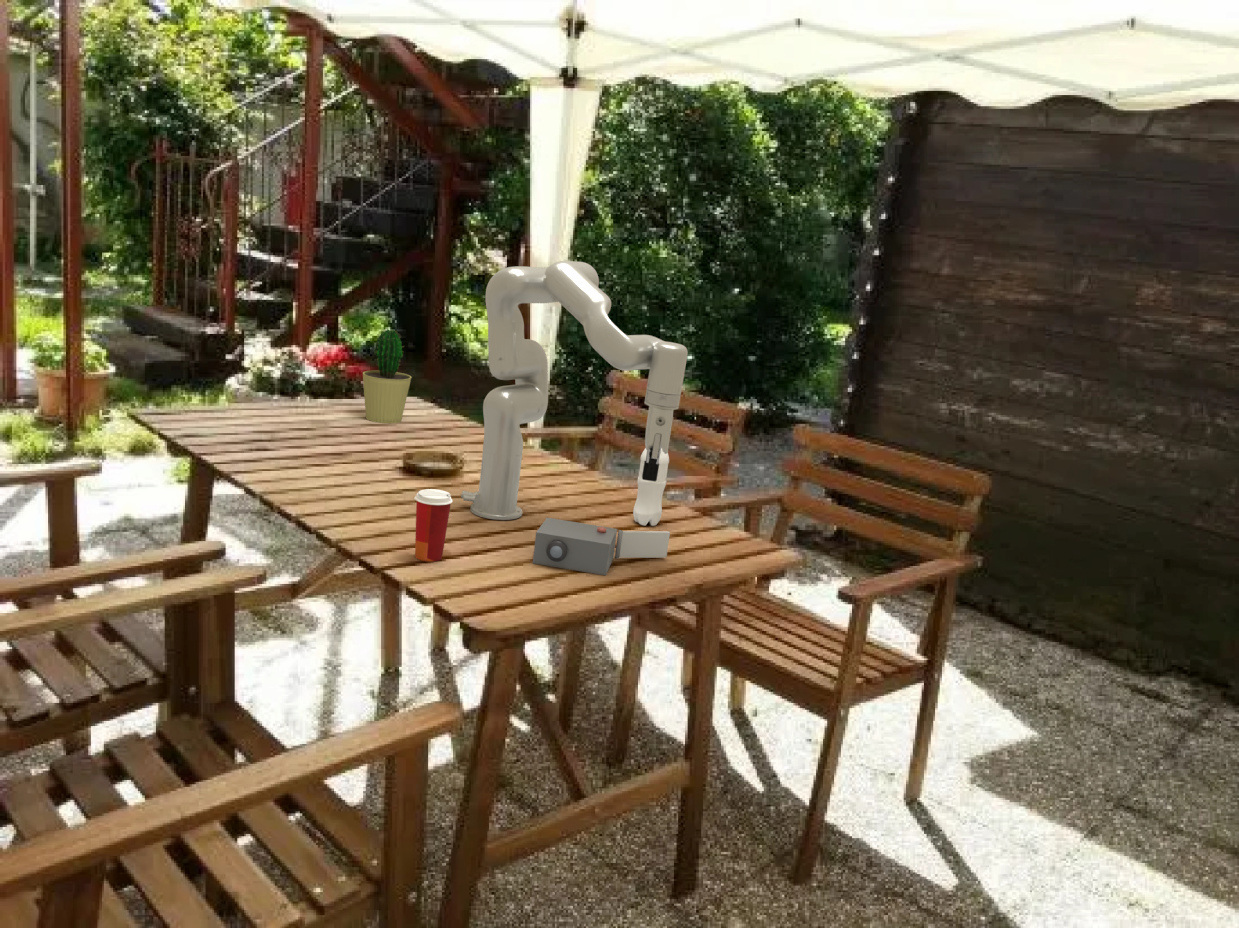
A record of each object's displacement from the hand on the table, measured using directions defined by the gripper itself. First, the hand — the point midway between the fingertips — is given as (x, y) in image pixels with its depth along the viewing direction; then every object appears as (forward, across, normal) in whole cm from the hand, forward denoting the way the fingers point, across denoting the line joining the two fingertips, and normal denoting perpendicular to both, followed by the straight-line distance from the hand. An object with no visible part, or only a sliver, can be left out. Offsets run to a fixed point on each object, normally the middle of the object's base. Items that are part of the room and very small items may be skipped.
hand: (649, 479), depth 237 cm
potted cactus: (+23, +112, +80) cm, 139 cm away
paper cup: (+20, -16, +44) cm, 51 cm away
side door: (+18, 0, -1) cm, 18 cm away
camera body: (+19, -7, +14) cm, 24 cm away
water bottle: (+19, +29, -3) cm, 35 cm away
